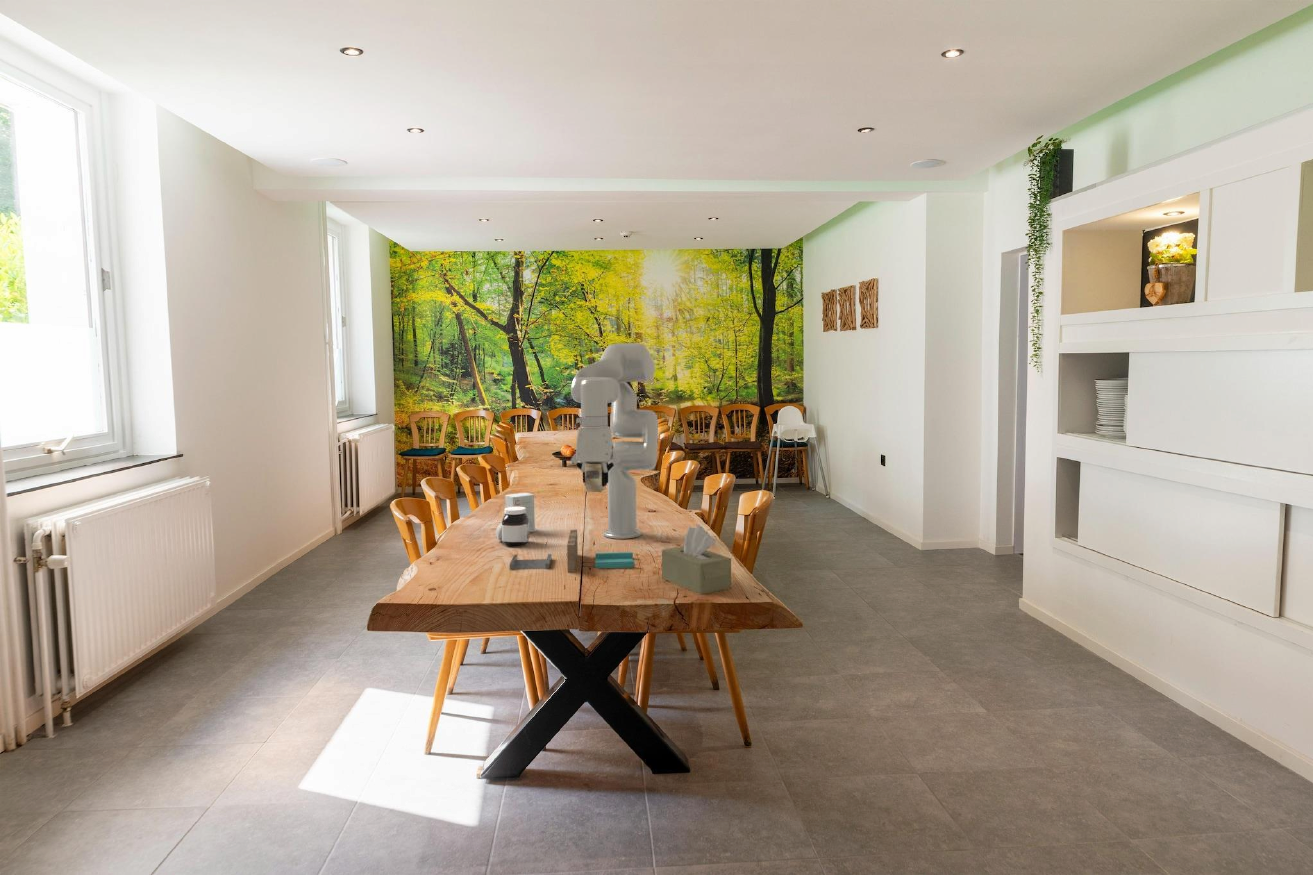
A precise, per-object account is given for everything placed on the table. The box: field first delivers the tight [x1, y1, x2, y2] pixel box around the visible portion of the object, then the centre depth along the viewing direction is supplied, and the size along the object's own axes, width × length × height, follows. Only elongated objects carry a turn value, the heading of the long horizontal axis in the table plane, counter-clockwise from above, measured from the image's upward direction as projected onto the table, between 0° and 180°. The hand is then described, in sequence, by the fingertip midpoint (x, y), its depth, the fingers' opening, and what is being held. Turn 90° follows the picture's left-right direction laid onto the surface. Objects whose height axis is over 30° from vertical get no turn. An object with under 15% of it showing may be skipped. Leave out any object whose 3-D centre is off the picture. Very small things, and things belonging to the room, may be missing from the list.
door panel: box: [566, 529, 579, 573], centre depth 236 cm, size 20×2×8 cm, turn 3°
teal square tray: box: [594, 551, 635, 569], centre depth 237 cm, size 11×11×2 cm
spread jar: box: [494, 507, 530, 547], centre depth 263 cm, size 12×11×12 cm
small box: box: [504, 492, 536, 533], centre depth 280 cm, size 8×6×13 cm
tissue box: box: [661, 524, 732, 595], centre depth 214 cm, size 19×10×16 cm, turn 32°
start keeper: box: [509, 553, 552, 571], centre depth 235 cm, size 11×11×2 cm
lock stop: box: [584, 462, 607, 493], centre depth 234 cm, size 4×7×8 cm
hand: (595, 484), depth 234 cm, fingers closed on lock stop, 4 cm apart
